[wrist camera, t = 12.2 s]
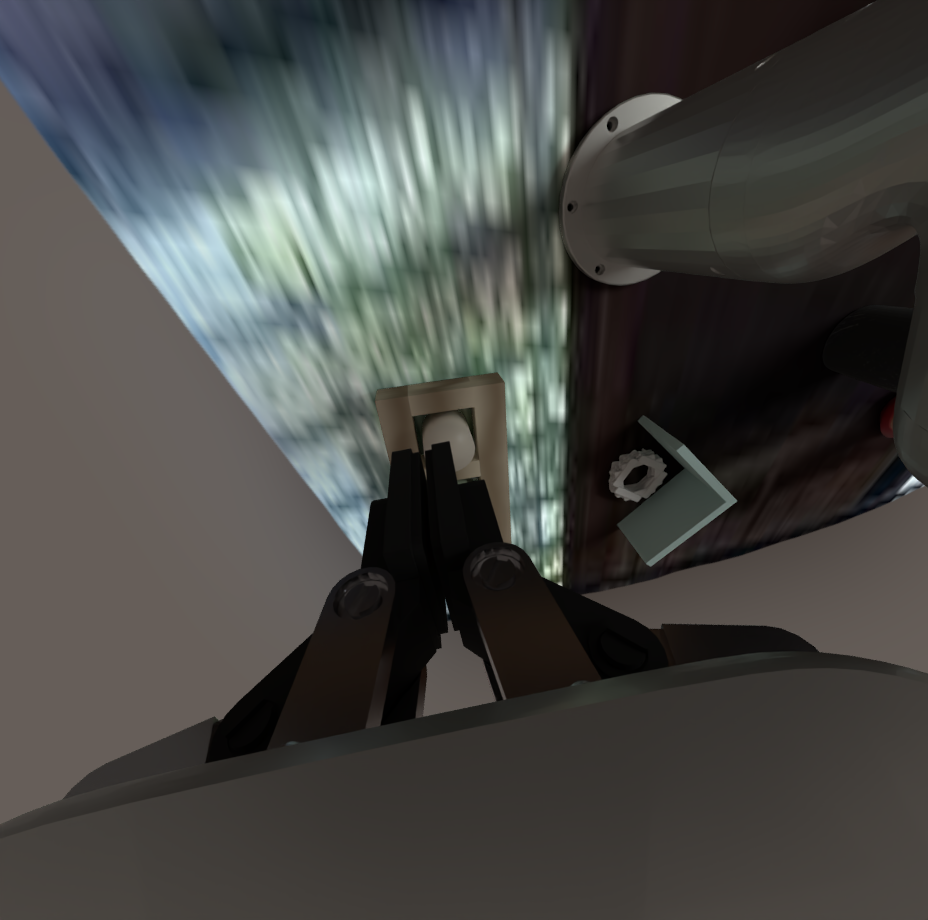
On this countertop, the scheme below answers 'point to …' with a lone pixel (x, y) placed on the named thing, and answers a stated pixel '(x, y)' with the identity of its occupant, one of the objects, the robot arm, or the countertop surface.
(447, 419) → the beige egg
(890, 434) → the liquor
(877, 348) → the travel mug
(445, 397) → the wooden rectangular frame
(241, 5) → the countertop surface
